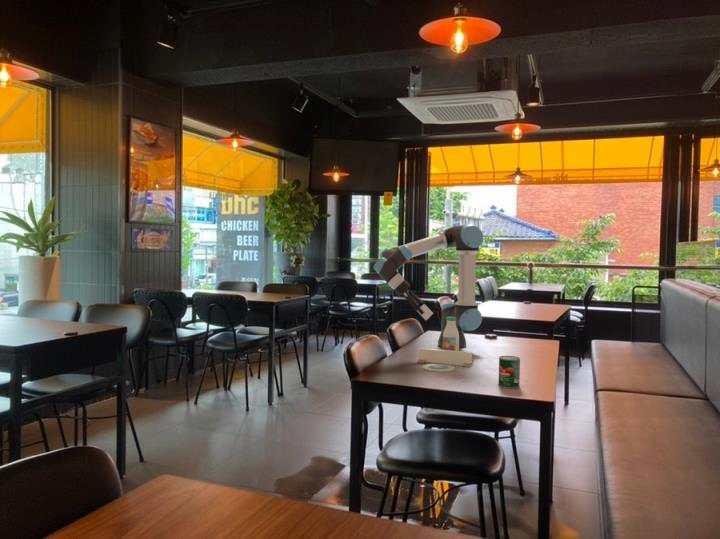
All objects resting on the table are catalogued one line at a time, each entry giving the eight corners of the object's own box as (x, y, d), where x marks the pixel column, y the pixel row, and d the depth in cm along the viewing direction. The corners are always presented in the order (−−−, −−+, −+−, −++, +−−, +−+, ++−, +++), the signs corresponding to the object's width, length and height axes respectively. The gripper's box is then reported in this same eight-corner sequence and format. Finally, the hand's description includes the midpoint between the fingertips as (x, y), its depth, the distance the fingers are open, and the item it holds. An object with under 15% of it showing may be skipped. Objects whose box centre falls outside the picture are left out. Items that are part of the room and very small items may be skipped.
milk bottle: (448, 356, 277) (449, 315, 276) (462, 358, 271) (462, 317, 271) (439, 358, 271) (439, 316, 271) (452, 361, 266) (453, 318, 265)
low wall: (417, 362, 262) (417, 349, 261) (421, 360, 267) (421, 347, 267) (469, 366, 253) (470, 353, 253) (472, 364, 259) (472, 351, 258)
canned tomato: (497, 387, 217) (497, 358, 217) (499, 382, 224) (500, 355, 224) (518, 389, 214) (519, 360, 214) (520, 384, 221) (521, 356, 221)
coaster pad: (416, 366, 252) (416, 365, 252) (442, 364, 258) (442, 362, 258) (434, 373, 240) (434, 371, 240) (461, 370, 246) (461, 368, 246)
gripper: (398, 288, 288) (427, 319, 286) (389, 292, 264) (420, 325, 261) (408, 278, 287) (437, 308, 284) (400, 280, 263) (432, 314, 260)
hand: (429, 317), depth 273 cm, fingers open, 13 cm apart
